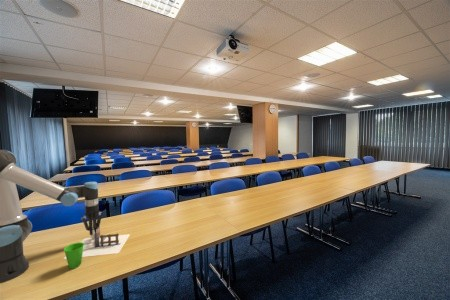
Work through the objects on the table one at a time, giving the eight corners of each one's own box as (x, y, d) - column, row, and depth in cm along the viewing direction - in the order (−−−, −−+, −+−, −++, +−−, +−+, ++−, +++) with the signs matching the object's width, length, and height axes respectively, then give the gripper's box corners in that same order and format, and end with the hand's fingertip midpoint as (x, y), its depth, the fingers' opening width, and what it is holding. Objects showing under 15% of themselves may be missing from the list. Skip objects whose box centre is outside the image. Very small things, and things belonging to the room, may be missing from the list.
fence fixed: (118, 245, 127) (117, 232, 126) (94, 247, 124) (93, 234, 124) (119, 243, 129) (119, 230, 129) (96, 245, 127) (95, 232, 126)
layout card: (118, 253, 118) (118, 252, 118) (62, 259, 112) (62, 258, 112) (130, 233, 142) (130, 233, 142) (85, 238, 137) (85, 237, 137)
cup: (89, 260, 111) (88, 242, 111) (77, 271, 102) (76, 251, 102) (73, 261, 111) (72, 242, 110) (60, 271, 102) (58, 251, 101)
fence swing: (95, 244, 127) (95, 233, 127) (97, 236, 138) (96, 226, 137) (99, 244, 128) (98, 232, 127) (100, 236, 138) (99, 225, 138)
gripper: (83, 208, 123) (84, 244, 124) (104, 203, 134) (106, 236, 135) (78, 206, 127) (79, 241, 128) (99, 201, 138) (100, 233, 139)
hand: (93, 238), depth 132 cm, fingers closed
